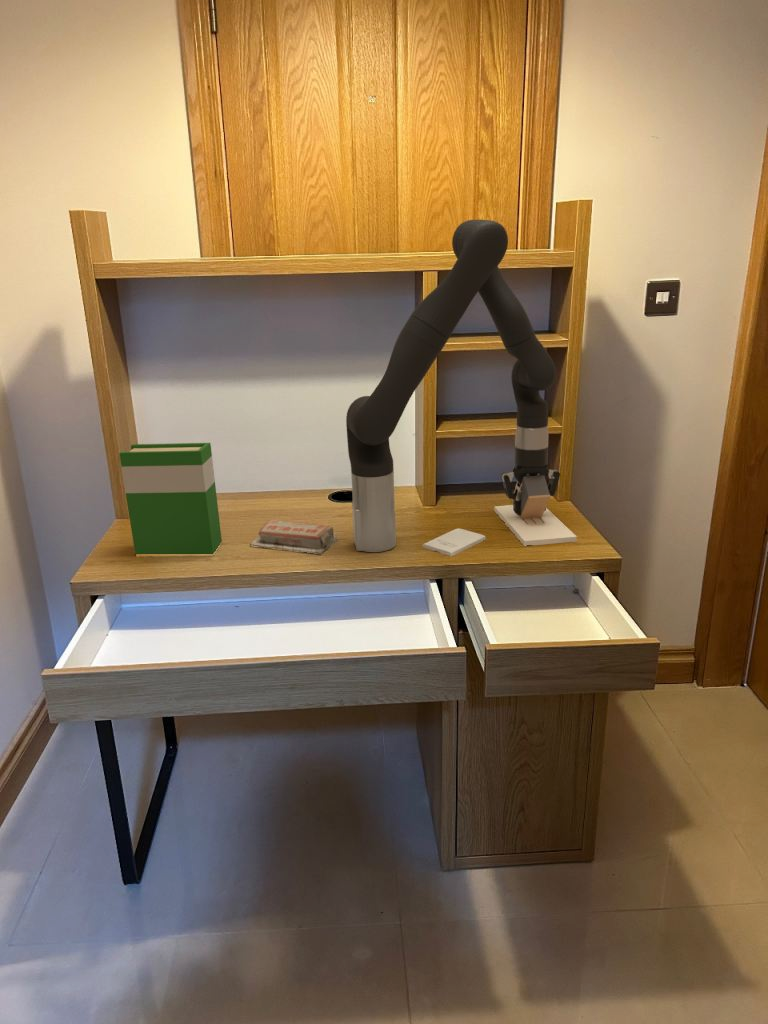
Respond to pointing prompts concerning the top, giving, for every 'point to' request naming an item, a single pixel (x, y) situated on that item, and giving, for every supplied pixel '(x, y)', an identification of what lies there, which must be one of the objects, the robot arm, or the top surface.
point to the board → (535, 527)
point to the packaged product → (295, 536)
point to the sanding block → (534, 496)
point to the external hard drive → (454, 542)
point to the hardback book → (171, 498)
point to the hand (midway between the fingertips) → (529, 513)
